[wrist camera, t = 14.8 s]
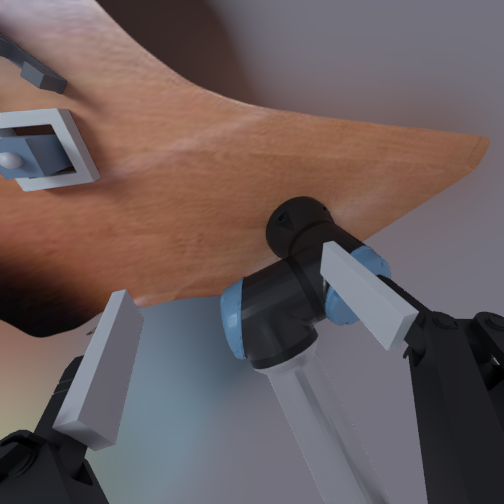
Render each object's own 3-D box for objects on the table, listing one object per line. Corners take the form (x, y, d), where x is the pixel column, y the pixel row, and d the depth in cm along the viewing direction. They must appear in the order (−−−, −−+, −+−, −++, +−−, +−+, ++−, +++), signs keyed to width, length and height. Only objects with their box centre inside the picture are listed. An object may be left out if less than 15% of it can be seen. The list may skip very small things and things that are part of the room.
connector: (60, 134, 29) (16, 139, 22) (74, 164, 31) (39, 178, 24) (27, 135, 28) (-31, 141, 21) (43, 166, 30) (-4, 181, 23)
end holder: (100, 177, 33) (93, 181, 30) (37, 185, 31) (24, 191, 29) (68, 109, 28) (56, 108, 25) (-10, 115, 26) (-30, 115, 24)
